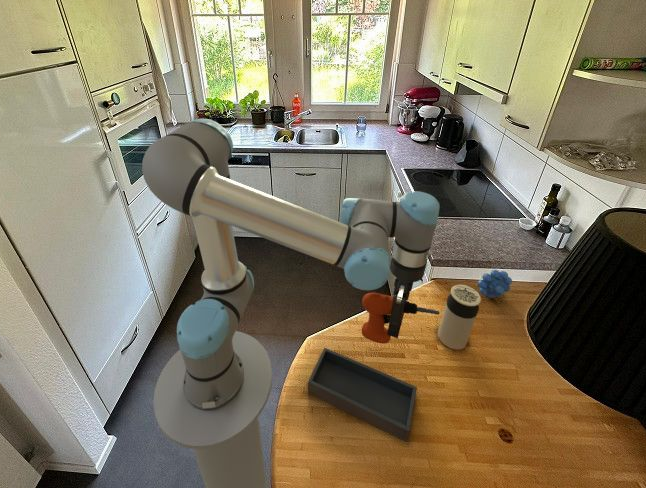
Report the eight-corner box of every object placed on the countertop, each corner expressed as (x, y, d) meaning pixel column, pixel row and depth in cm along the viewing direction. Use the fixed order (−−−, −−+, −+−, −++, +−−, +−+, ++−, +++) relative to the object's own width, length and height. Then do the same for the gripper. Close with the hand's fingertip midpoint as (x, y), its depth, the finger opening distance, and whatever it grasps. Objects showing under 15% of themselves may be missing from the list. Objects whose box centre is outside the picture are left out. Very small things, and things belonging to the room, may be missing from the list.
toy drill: (436, 356, 79) (440, 311, 72) (360, 340, 86) (357, 298, 79) (436, 339, 83) (440, 296, 77) (363, 325, 90) (361, 284, 83)
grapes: (480, 308, 106) (490, 281, 100) (469, 292, 112) (478, 266, 106) (514, 305, 107) (525, 278, 101) (501, 290, 112) (511, 264, 107)
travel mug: (464, 355, 91) (480, 310, 83) (434, 342, 95) (447, 298, 86) (468, 334, 97) (483, 290, 89) (440, 322, 101) (452, 279, 92)
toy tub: (307, 392, 82) (307, 382, 80) (324, 357, 91) (324, 347, 88) (406, 442, 73) (409, 431, 70) (414, 397, 81) (417, 387, 79)
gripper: (421, 288, 64) (403, 362, 75) (431, 242, 77) (414, 311, 88) (383, 276, 66) (371, 349, 78) (399, 233, 80) (387, 301, 91)
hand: (394, 329), depth 83 cm, fingers closed on toy drill, 3 cm apart
